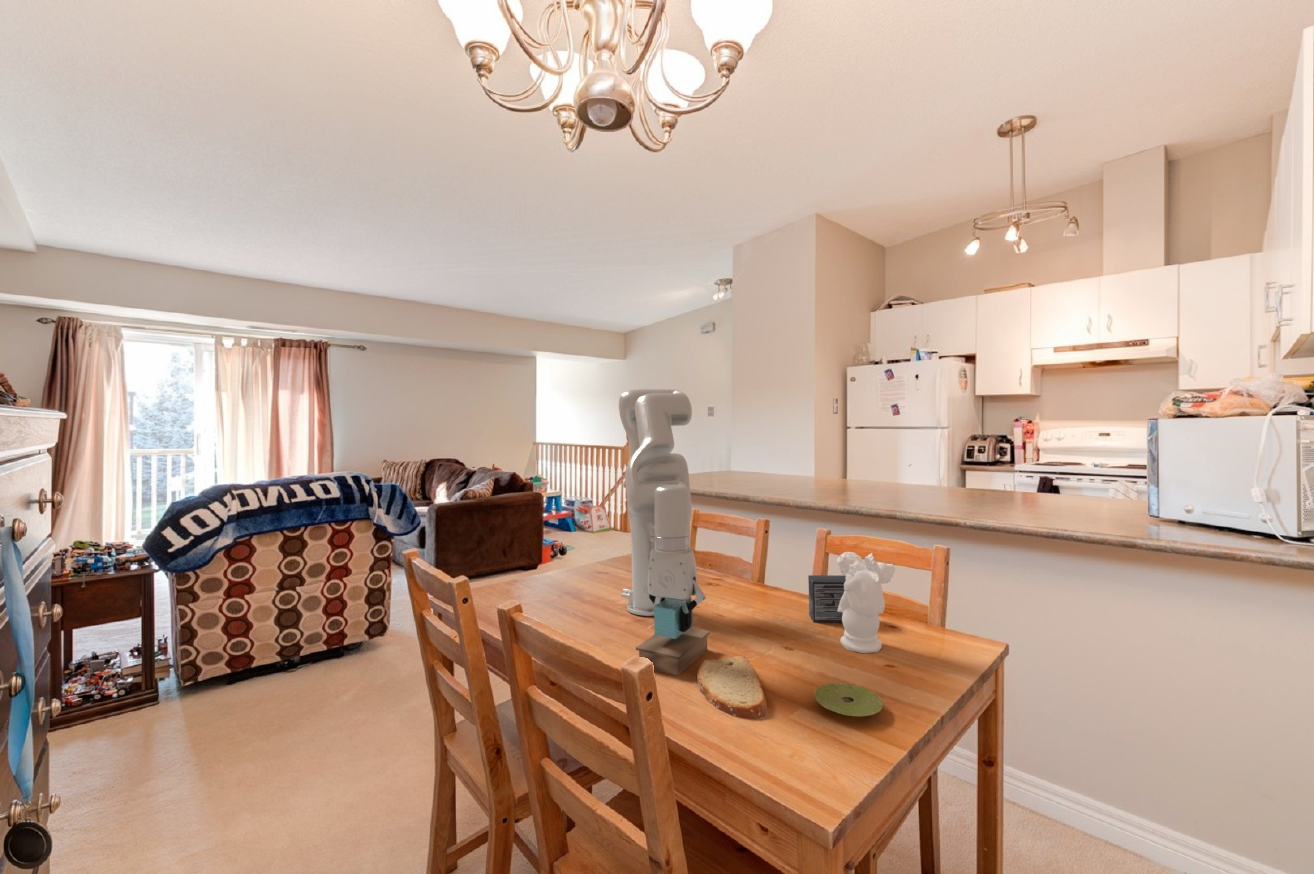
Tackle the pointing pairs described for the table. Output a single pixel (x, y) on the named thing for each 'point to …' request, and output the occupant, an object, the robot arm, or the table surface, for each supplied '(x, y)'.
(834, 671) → the table surface
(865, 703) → the green disc
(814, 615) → the small box
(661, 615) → the block
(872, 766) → the table surface
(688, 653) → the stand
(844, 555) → the cherub figurine
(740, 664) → the slice of bread
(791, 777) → the table surface
